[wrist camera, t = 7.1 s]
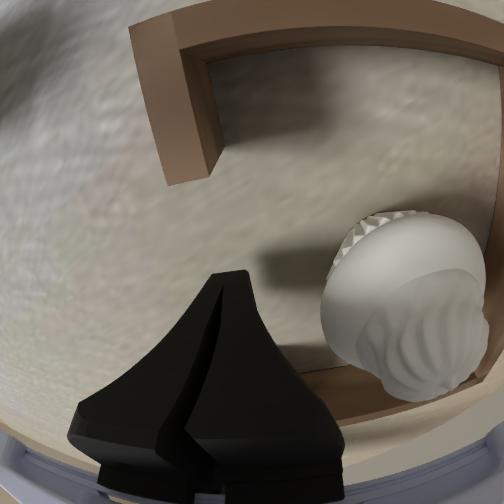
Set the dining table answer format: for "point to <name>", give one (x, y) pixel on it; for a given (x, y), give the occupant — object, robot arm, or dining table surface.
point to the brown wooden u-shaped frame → (295, 36)
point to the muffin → (408, 303)
